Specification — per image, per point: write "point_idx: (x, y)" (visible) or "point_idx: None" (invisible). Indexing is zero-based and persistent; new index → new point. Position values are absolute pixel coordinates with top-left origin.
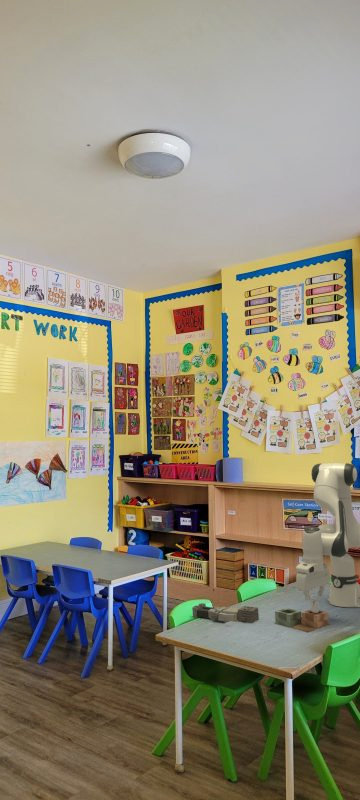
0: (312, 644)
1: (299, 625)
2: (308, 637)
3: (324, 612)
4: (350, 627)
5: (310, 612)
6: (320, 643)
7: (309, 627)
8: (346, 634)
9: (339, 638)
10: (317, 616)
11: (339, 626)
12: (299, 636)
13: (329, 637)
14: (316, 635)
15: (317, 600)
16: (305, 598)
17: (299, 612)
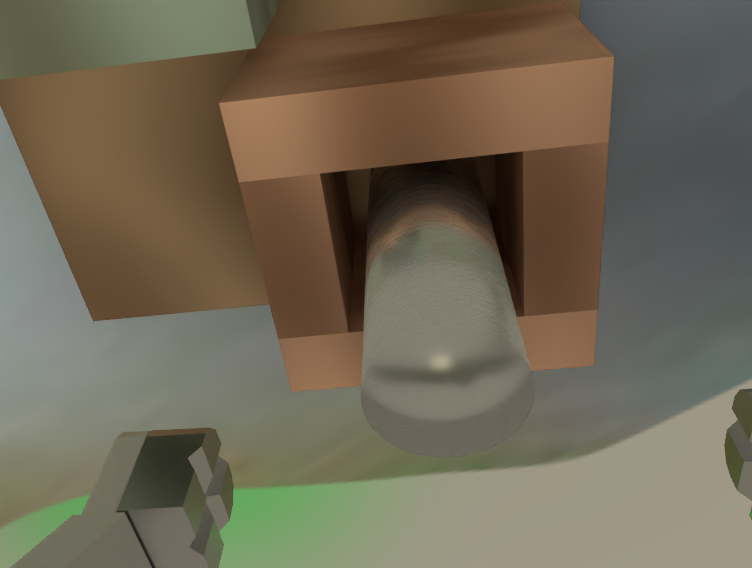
0: (3, 449)
1: (174, 63)
2: (87, 320)
3: (546, 340)
4: (736, 361)
5: (412, 155)
6: (89, 468)
7: (239, 212)
8: (488, 453)
9: (339, 478)
10: (299, 386)
11: (691, 277)
12: (8, 246)
13: (282, 423)
14: (211, 326)
15: (499, 431)
16: (112, 454)
17: (197, 53)
